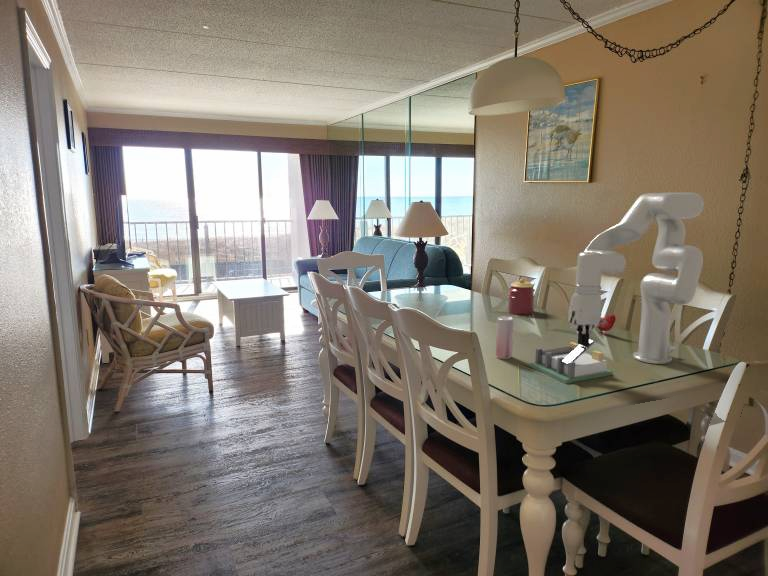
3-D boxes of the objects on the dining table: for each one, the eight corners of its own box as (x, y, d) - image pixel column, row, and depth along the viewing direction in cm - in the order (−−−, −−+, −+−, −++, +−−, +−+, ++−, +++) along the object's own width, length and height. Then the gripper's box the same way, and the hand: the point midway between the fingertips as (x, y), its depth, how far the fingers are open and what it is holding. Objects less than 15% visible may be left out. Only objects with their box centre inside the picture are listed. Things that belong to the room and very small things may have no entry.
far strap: (567, 348, 185) (567, 346, 185) (574, 351, 182) (574, 349, 182) (540, 353, 180) (540, 351, 180) (546, 356, 177) (546, 353, 177)
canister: (517, 308, 272) (518, 275, 269) (538, 312, 263) (540, 278, 260) (502, 312, 264) (503, 278, 260) (524, 316, 254) (526, 281, 251)
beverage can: (494, 354, 195) (495, 316, 193) (510, 354, 195) (511, 316, 192) (497, 359, 190) (498, 320, 187) (513, 359, 189) (515, 320, 187)
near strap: (587, 339, 173) (586, 338, 173) (594, 342, 170) (593, 340, 170) (562, 362, 170) (561, 361, 170) (569, 365, 167) (568, 363, 167)
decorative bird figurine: (612, 339, 214) (614, 315, 212) (583, 328, 231) (584, 307, 229) (617, 338, 215) (619, 315, 213) (588, 328, 232) (589, 306, 230)
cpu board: (573, 359, 189) (575, 339, 188) (612, 374, 173) (614, 353, 172) (529, 366, 182) (530, 346, 180) (565, 383, 165) (566, 361, 164)
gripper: (596, 287, 173) (591, 339, 176) (561, 289, 168) (557, 343, 171) (613, 290, 167) (608, 345, 170) (577, 293, 161) (573, 350, 164)
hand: (582, 344), depth 170 cm, fingers closed
